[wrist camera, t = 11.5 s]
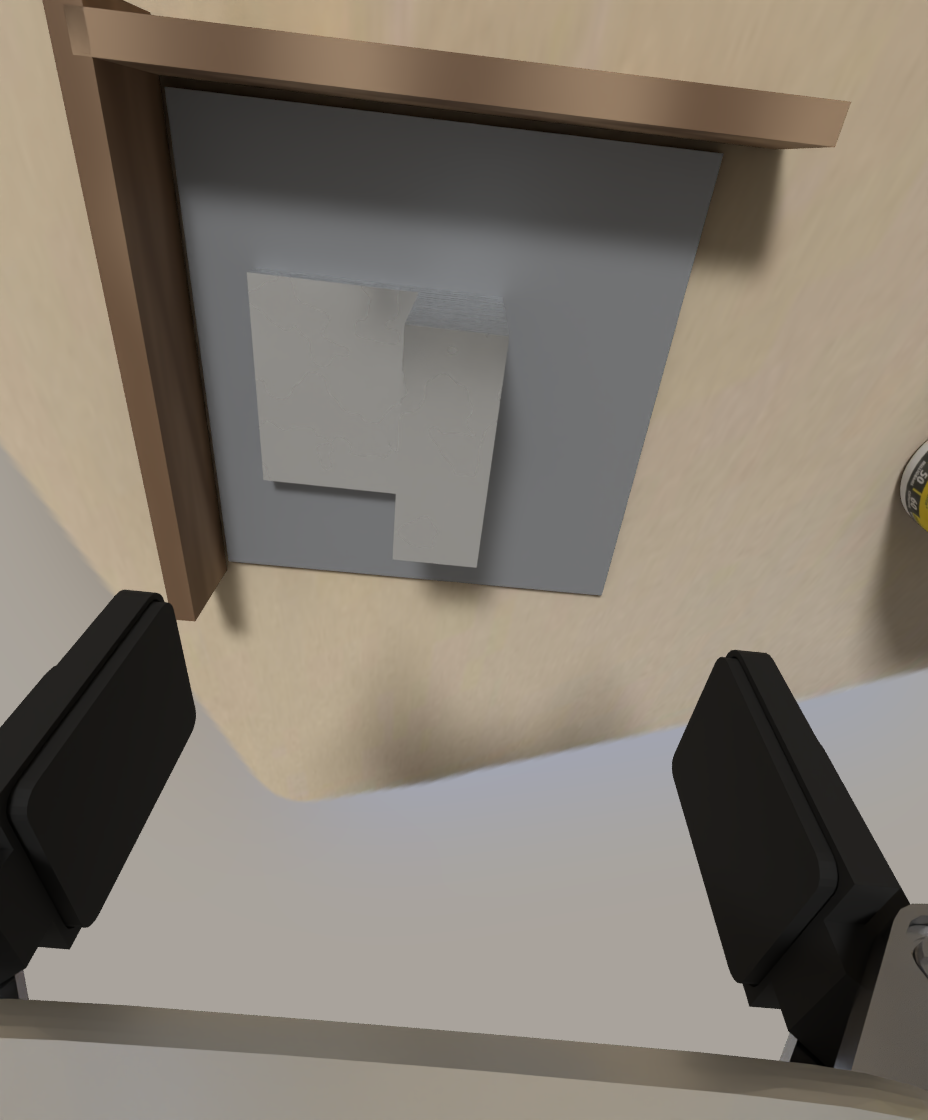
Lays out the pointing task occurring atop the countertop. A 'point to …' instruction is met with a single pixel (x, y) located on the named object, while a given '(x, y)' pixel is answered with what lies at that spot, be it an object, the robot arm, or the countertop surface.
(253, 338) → the aluminium bracket
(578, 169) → the slate mat
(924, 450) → the supplement bottle
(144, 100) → the walnut corner walls
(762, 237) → the countertop surface
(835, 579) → the countertop surface
